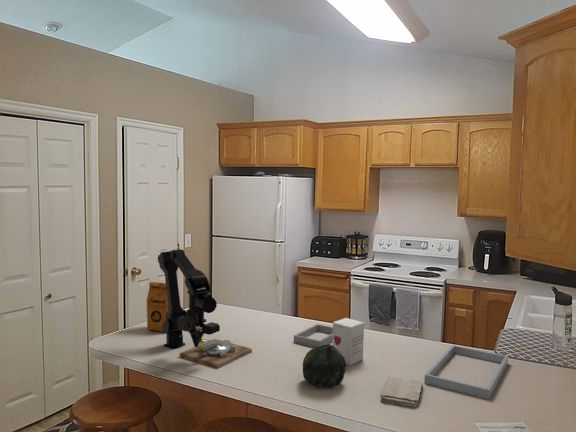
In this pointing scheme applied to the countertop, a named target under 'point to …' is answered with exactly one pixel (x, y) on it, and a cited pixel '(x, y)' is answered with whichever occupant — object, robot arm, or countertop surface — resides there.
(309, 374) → the squash
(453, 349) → the slate carton frame
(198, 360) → the walnut base
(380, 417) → the countertop surface
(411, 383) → the washcloth
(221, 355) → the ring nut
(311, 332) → the grey frame
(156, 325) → the coffee package
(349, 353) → the supplement box
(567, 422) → the countertop surface
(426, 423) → the countertop surface
